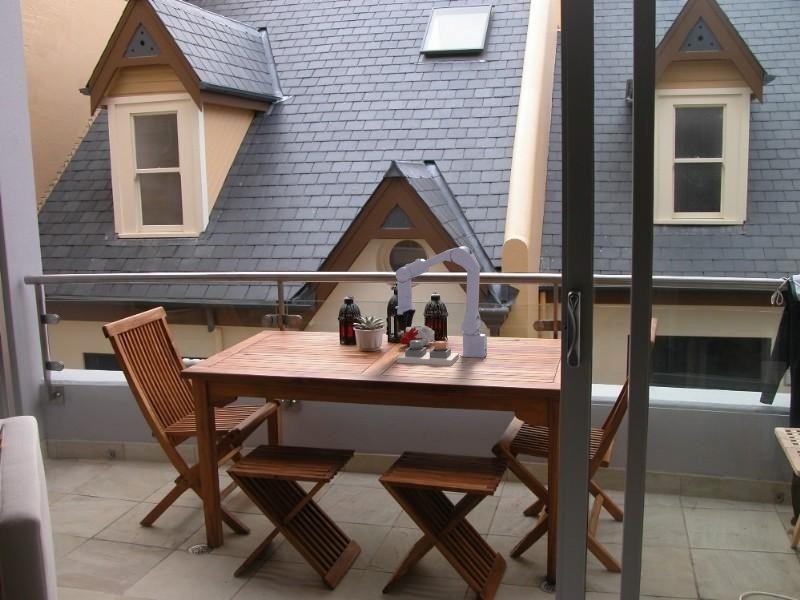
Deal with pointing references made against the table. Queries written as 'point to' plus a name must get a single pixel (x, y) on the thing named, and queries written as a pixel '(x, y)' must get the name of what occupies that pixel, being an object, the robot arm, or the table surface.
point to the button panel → (428, 356)
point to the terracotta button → (440, 345)
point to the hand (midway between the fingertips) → (405, 328)
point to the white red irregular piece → (417, 334)
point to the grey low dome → (415, 344)
